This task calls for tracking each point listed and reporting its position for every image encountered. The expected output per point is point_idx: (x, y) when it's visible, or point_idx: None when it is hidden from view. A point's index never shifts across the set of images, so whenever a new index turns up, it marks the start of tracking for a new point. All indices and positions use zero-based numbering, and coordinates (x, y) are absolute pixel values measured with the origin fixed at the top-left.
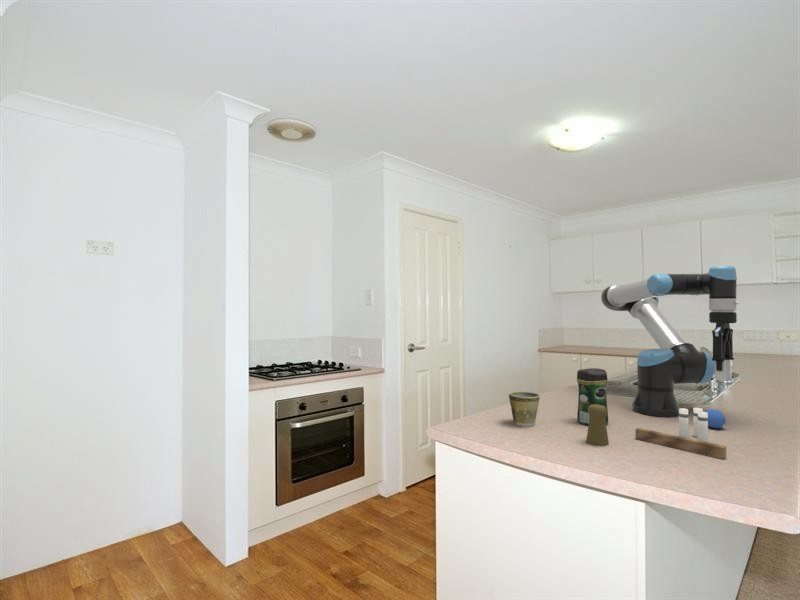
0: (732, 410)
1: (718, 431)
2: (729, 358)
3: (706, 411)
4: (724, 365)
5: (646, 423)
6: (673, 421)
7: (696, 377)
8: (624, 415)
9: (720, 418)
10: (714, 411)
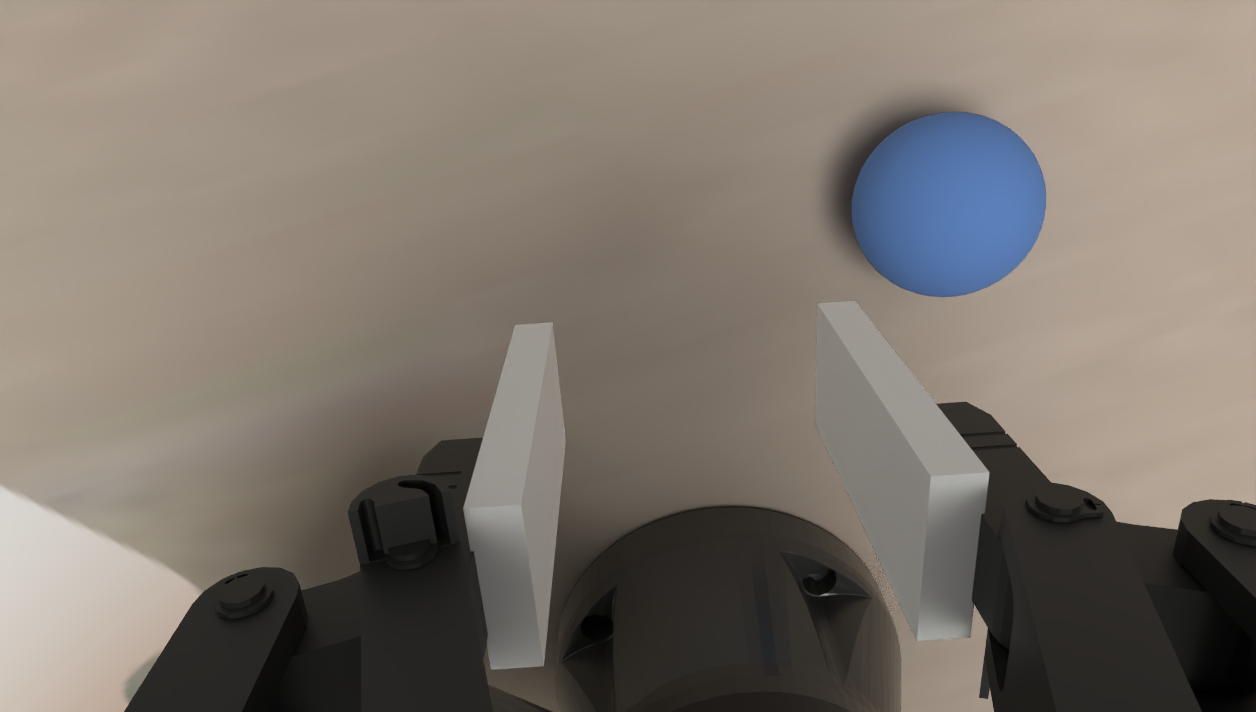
0: (41, 333)
1: (1019, 119)
2: (466, 554)
3: (997, 277)
4: (949, 429)
5: None
6: None
7: (493, 699)
8: None
9: (1020, 138)
10: (1023, 208)
